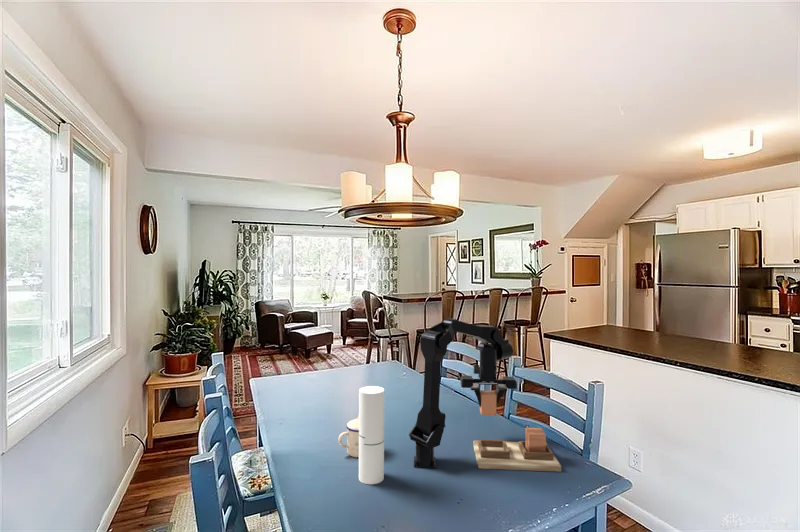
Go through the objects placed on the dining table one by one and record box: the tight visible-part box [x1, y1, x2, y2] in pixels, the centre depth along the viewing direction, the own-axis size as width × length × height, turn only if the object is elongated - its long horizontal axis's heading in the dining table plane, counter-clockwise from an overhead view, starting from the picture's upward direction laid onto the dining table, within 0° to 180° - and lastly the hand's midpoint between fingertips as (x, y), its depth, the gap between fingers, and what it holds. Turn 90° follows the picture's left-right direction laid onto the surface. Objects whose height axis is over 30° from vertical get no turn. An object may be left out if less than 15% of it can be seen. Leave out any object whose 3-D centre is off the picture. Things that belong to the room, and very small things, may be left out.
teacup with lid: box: [337, 415, 359, 459], centre depth 133 cm, size 12×9×12 cm
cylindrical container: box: [358, 385, 385, 485], centre depth 118 cm, size 7×7×25 cm
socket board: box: [472, 427, 562, 473], centre depth 131 cm, size 16×24×8 cm, turn 86°
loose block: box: [479, 389, 497, 417], centre depth 144 cm, size 5×5×7 cm
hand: (487, 406), depth 144 cm, fingers closed on loose block, 5 cm apart
